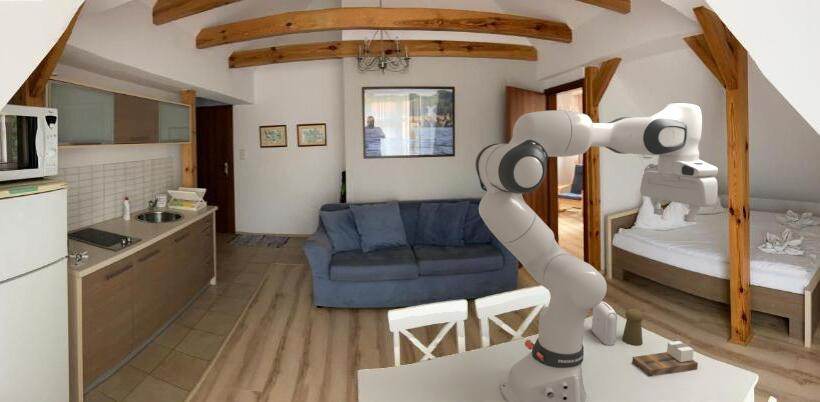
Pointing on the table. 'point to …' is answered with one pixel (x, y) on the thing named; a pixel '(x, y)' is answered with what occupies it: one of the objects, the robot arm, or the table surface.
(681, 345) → the fader tab
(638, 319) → the cork
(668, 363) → the slider board
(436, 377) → the table surface
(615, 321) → the photo printer
